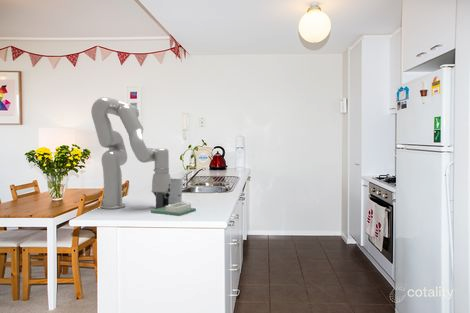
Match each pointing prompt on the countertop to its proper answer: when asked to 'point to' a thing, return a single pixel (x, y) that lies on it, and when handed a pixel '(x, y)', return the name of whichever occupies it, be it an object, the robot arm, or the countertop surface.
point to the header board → (175, 209)
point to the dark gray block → (160, 200)
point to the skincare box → (176, 190)
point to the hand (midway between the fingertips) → (162, 204)
